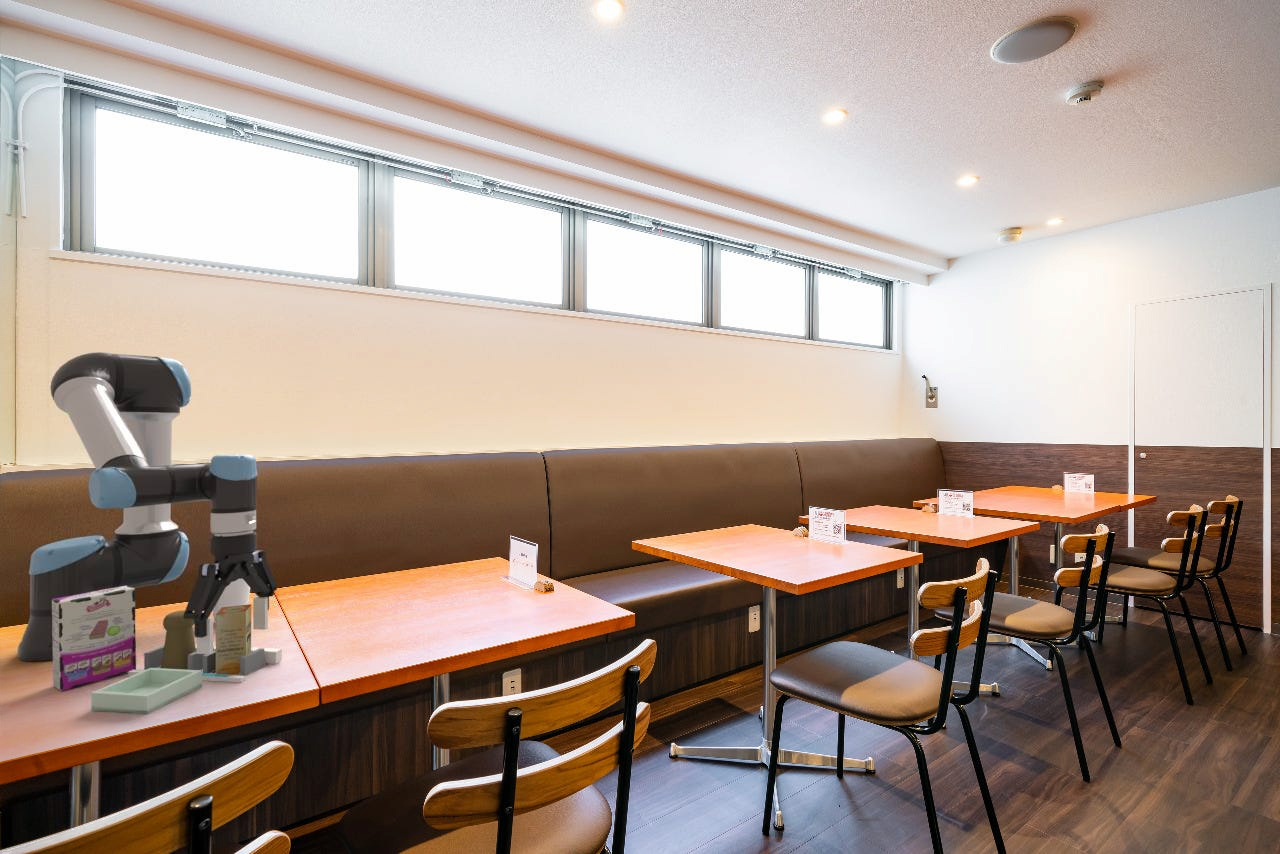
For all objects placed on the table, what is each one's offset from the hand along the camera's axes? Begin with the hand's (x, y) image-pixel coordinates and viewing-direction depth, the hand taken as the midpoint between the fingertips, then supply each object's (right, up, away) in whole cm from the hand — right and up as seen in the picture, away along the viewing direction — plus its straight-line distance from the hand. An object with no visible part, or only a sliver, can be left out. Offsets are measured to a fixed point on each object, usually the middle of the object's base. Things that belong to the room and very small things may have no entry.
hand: (234, 640), depth 117 cm
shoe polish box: (0, -6, 0) cm, 6 cm away
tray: (-7, -6, -12) cm, 15 cm away
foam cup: (-22, -6, +30) cm, 37 cm away
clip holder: (-6, -6, +1) cm, 8 cm away
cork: (-12, -6, +2) cm, 14 cm away
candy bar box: (-24, -6, -4) cm, 25 cm away
